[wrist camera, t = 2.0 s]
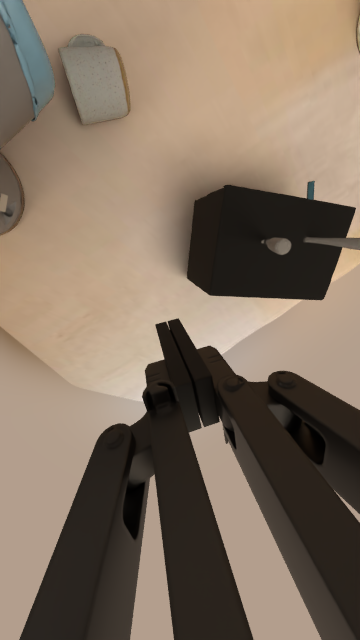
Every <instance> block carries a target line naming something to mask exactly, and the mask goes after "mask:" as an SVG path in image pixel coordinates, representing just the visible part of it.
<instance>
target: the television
mask: <svg viewBox="0 0 360 640" xmlns="http://www.w3.org/2000/svg"><path fill="white" fill-rule="evenodd" d="M223 187H224V188H222V189H219V190H217V191H214V192H212V193H210V194H208V195H207V196H205V197H202V198H200V199H198V200H195V203H194V213H193V221H192V232H191V240H190V251H189V260H188V271H187V279H189V280H190V281H191V282H193V283H194V284H195V285H196V286H198V287H199V288H201V289H202V290H203V291H204V292H206V293H207V294H209V295H211V296H234V297H259V298H282V299H305V300H323V299H324V297H325V295H326V292H327V290H328V287H329V284H330V282H331V278H332V275H333V273H334V270H335V268H336V265H337V262H338V259H339V256H340V253H341V250H342V247H344V248H349V249H356V250H360V238H346V236H347V233H348V230H349V228H350V225H351V222H352V219H353V216H354V213H355V210H356V208H355V207H350V206H344V205H339V204H333V203H328V202H322V201H317V200H311V199H306V198H300V197H295V196H290V195H284V194H277V193H272V192H266V191H261V190H255V189H249V188H244V187H237V186H232V185H225V186H223Z"/></svg>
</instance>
